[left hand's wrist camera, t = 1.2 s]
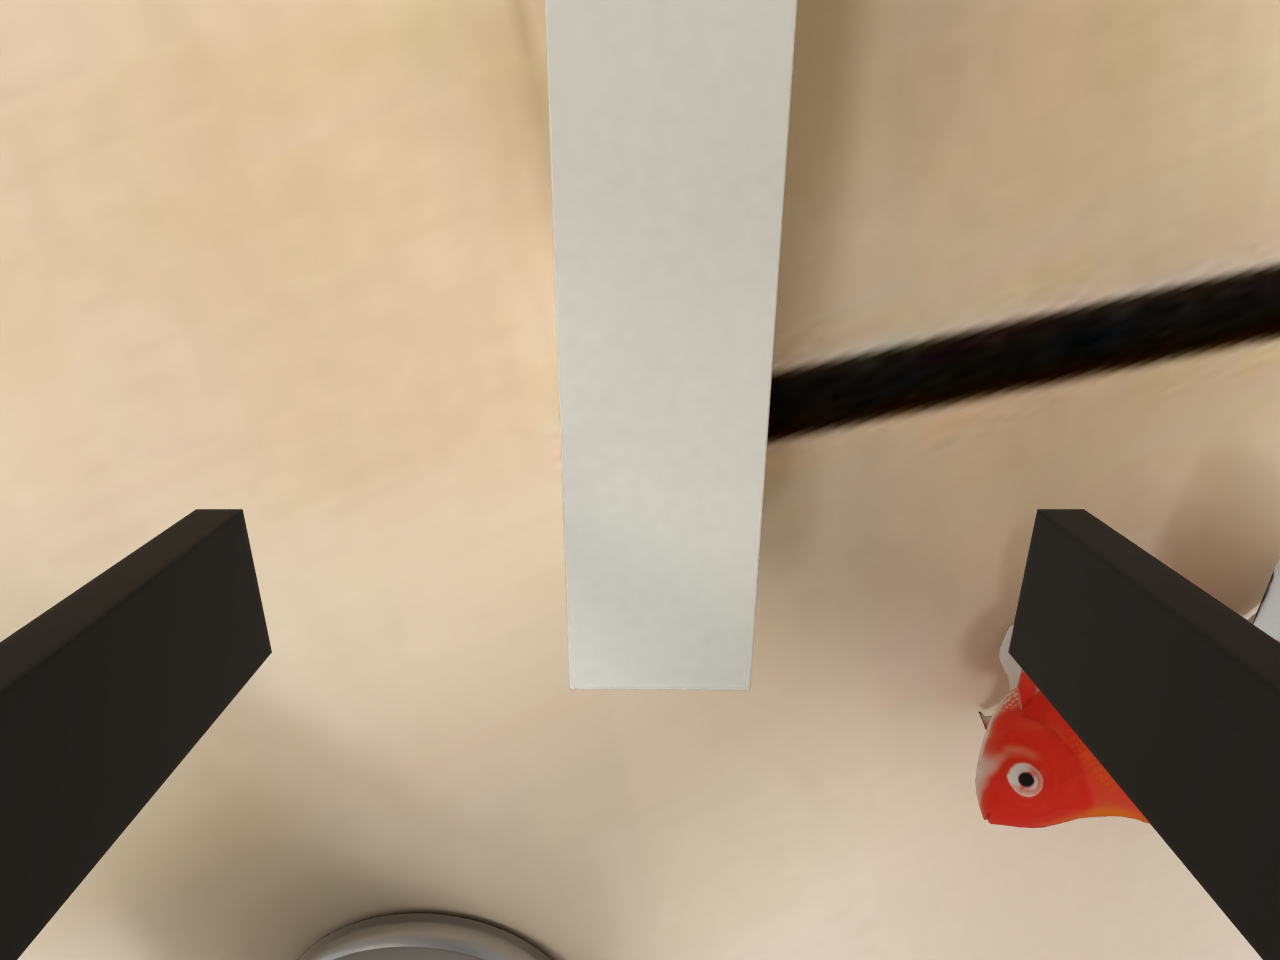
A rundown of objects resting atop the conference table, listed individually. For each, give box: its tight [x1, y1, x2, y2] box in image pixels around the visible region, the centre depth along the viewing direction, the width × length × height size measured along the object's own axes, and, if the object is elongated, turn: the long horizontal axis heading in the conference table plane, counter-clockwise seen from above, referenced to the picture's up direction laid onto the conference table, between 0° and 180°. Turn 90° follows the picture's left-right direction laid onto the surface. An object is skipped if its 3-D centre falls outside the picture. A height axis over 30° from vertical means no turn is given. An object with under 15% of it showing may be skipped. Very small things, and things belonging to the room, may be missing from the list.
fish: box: [975, 557, 1280, 828], centre depth 25 cm, size 11×16×10 cm
